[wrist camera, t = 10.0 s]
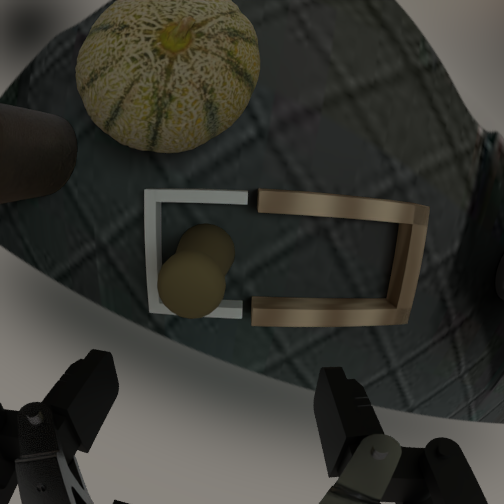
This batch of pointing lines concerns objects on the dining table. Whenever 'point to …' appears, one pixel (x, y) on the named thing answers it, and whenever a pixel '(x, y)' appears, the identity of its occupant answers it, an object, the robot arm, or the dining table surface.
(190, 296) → the olive gourd
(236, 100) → the cantaloupe
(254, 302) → the oak channel
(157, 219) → the grey u-shaped staple
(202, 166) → the dining table surface
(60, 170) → the pillar candle
